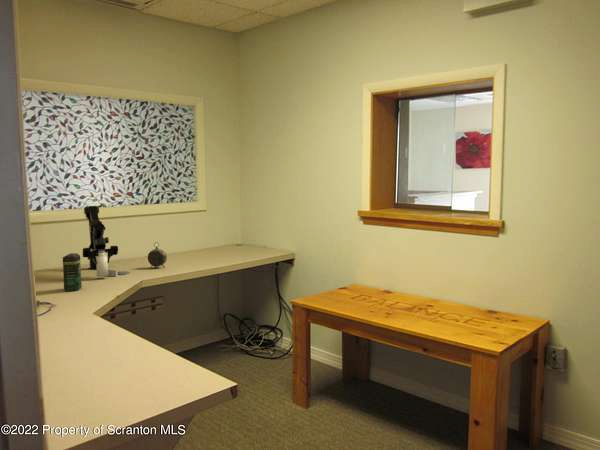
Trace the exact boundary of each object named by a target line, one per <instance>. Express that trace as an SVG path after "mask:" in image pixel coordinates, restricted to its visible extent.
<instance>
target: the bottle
mask: <svg viewBox="0 0 600 450" xmlns="http://www.w3.org/2000/svg"><path fill="white" fill-rule="evenodd" d="M98 253H99V256H96V261H97V264H96V266H97V269H96V276H97V277H109V276H108V269H109V263H108V258H107V255H108V254H107V255H105V254H106V253H105V251H104V250H101V251H98Z"/></svg>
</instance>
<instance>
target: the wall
mask: <svg viewBox="0 0 600 450" xmlns="http://www.w3.org/2000/svg"><path fill="white" fill-rule="evenodd" d="M118 272H119V271H118V270H117V269H111V268H110V269H109V268H108V276H107V277H115V278H116V277H118V276H119V275H118Z"/></svg>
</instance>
